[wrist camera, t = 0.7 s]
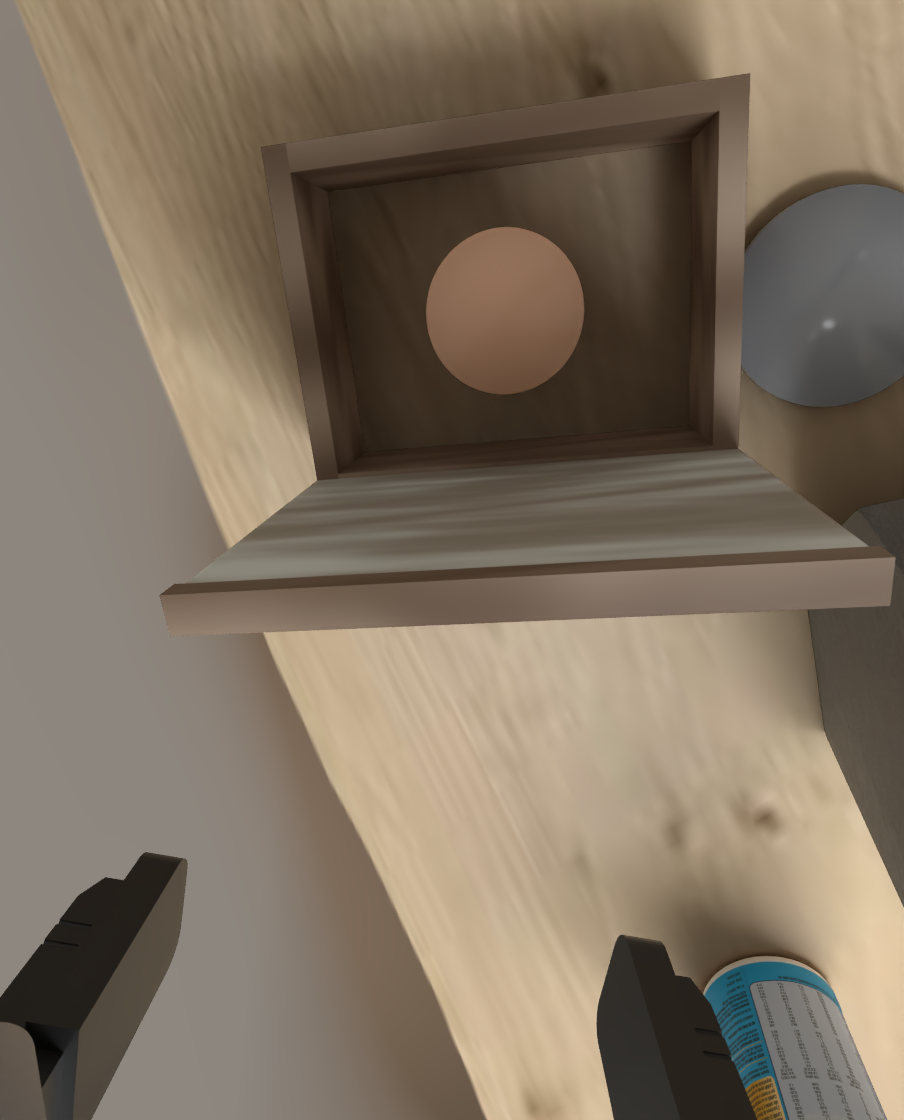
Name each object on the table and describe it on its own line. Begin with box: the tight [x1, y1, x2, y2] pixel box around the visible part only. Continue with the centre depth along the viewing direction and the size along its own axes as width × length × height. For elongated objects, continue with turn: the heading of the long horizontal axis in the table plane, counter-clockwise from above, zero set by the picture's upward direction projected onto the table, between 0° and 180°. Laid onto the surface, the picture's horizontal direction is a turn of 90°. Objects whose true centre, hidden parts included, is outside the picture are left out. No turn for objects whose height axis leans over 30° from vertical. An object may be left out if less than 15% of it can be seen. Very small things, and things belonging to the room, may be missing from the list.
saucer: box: [741, 184, 904, 407], centre depth 31 cm, size 9×9×1 cm
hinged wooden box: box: [160, 73, 896, 636], centre depth 24 cm, size 14×18×19 cm
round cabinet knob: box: [426, 227, 584, 394], centre depth 29 cm, size 6×6×8 cm
